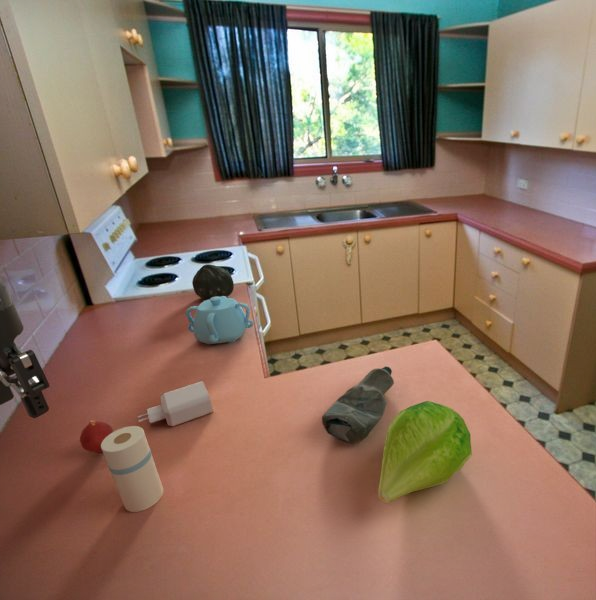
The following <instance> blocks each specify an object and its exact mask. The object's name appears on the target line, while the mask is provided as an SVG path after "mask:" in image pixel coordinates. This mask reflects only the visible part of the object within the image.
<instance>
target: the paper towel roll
mask: <svg viewBox="0 0 596 600" xmlns="http://www.w3.org/2000/svg"><path fill="white" fill-rule="evenodd" d="M113 431H114V432H113V433H111V434H109V435H108V436H107V437H106V438H105V439H104V440H103V441H102V443H101V449H102V451H103V452H102V454H103V457H104V459H105V461H106V464H107V467H108V470H109V472H110V474H111V476H112V479H113V482H114V484H115V487H116V489H117V492H118V494H119V496H120V499H121V501H122V504H123V507H124V509H125V510H126V511H127V512H129V513H139V512H143V511H146V510H147V509H150V508H152V507H153V506H154V505H156V504H157V503H158V502H159V501H160V499H161V498H162V497H163V495H164V487H163V484H162V481H161V477H160V475H159V472H158V469H157V466H156V463H155V460H154V457H153V454H152V450H151V447H150V446H149V445H150V444H149V443H148V439H147V437H146V434H145V430H144V429H143V428H142V427H141V426H138V425H128V426H124V427H122V428H121V427H120V428H118V429H116V430H113Z"/></svg>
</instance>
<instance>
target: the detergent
mask: <svg viewBox="0 0 596 600" xmlns="http://www.w3.org/2000/svg"><path fill="white" fill-rule="evenodd" d="M392 372H393V370H392V369H391V367H390V366H383V367H380V368H378V367H377V368H373V369H371V370H370V371H369V372H367V374H366V375H365V376H364V377H363V378H362V379H361V380H360V382H359V383H357V384H356V385H354V386H352V387H351V388H349V389H348V390H346V391H345V392H344V393H343V394H342V395H341V396H340V397H338V398H337V399H336V400H335V402H334V403H333V404H332V405H331V406H330V407H329V408H328V409H327V410H326V411H325V412H324V414H323V415H322V416H321V423H322V426H323V428H324V430H325V431H326V432H327V434H328V435H330V436H333V437H334V438H335V439H338V440H341V441H343V442H346V443H353V444H354V443H358V442H361V441H363V440H364V439H366V438H367V437H368V435H369V434H370V433H371V431H373V430H374V428H375V427H376V425H377V424H378V423H379V422H380V421H381V419H383V416H384V413H385V411H386V407H387V404H388V401H387V399H386V397H385V394H386V393H387V392H388V391H389V390H391V388H392V387H393V385H394V384H395V381H394V379H393V376H392Z"/></svg>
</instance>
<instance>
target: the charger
mask: <svg viewBox="0 0 596 600" xmlns="http://www.w3.org/2000/svg"><path fill="white" fill-rule="evenodd" d="M159 398H160V402H161V404H158V405H155V406H152V407H148V408H146V413H144V414H143V413H142V414H140V415H138V416H136V417H137V422H138V423H141V422H144V421H147V420H148V421H149V424H154V423H156V422H159V421H162V420H166V423H167V426H171V427H176V426H178V425H181V424H184V423H186V422H190V421H192V420H194V419H197V418H200V417H203V416H206V415H208V414H211V413H214V409H213V404H212V399H211V397H210V395H209V392H208V389H207V388H206V385H205V383H204V381H203V380H202V381H198V382H193V383H192V384H189V385H186V386H182V387H180V388H176V389H173V390H169V391H166V392H163V394H162V395H161V396H160V397H159ZM143 417H144V418H143Z"/></svg>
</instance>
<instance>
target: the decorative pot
mask: <svg viewBox="0 0 596 600" xmlns="http://www.w3.org/2000/svg"><path fill="white" fill-rule="evenodd" d="M244 309H245V311H244ZM192 311H196V312H195V315H194V317H192V314H191V312H192ZM250 313H251V311H250V307H249V305H248V304H247V303H245V302H238V301H237V300H236V299H235V298H232V297H228V296H221V297H212V298H210V299H209V300H206V301H204V300H203V301H202V302H201V303H200V304H199V305H193V306H190V307H188V308H187V309H186V311H185V316H186V318H187V320H188V322H189V323H190V324H188V326H187V329H188V331H189V332H191V333H193V335H194V338H195V339H196V340H198V341H199V342H200V343H202V344H206V345H214V344H223V343H228V344H231V343H235V342H236V341H237V340H238V339H239V338H241V337H242V336H243V334H244V333H245V331H246V329H250V328H252V327H253V326H254V321H253V320H252V319H249V318H250Z"/></svg>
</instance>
